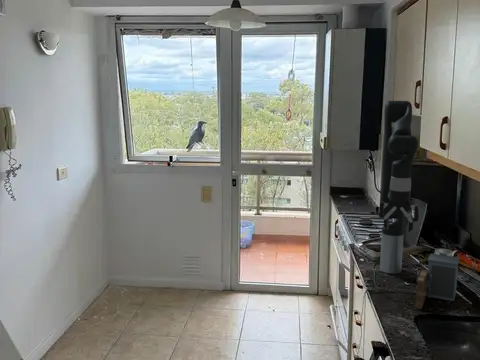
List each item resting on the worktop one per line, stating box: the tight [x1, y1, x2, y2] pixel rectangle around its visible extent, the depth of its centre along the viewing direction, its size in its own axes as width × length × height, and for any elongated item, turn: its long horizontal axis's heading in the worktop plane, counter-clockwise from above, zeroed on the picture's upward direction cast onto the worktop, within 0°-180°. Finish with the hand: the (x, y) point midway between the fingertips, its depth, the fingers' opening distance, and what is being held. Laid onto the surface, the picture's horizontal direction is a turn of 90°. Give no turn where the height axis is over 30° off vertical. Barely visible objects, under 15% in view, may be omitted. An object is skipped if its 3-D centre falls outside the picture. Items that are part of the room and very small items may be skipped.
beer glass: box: [434, 248, 453, 256], centre depth 200 cm, size 7×7×15 cm
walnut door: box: [415, 269, 428, 310], centre depth 183 cm, size 12×3×11 cm, turn 152°
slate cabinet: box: [415, 252, 460, 302], centre depth 190 cm, size 12×14×15 cm
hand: (397, 229), depth 186 cm, fingers open, 8 cm apart
